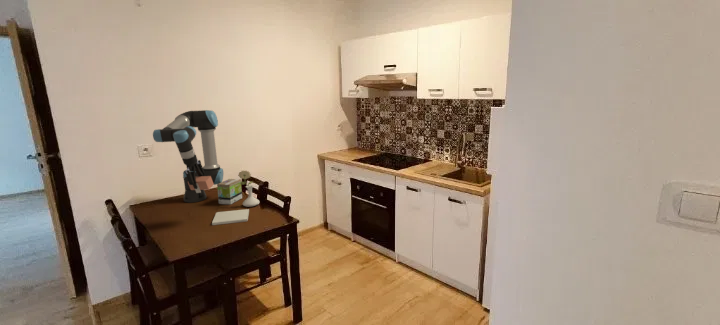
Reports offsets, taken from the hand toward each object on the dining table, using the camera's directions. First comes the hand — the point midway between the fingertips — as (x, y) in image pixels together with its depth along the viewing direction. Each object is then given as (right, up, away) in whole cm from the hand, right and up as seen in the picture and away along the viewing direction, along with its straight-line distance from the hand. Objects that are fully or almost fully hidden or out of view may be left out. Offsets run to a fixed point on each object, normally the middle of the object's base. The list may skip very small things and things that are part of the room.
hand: (201, 189), depth 205 cm
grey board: (+17, -18, +3) cm, 25 cm away
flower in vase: (+22, -13, +25) cm, 36 cm away
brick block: (+6, +4, -3) cm, 8 cm away
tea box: (+4, -12, +35) cm, 37 cm away
